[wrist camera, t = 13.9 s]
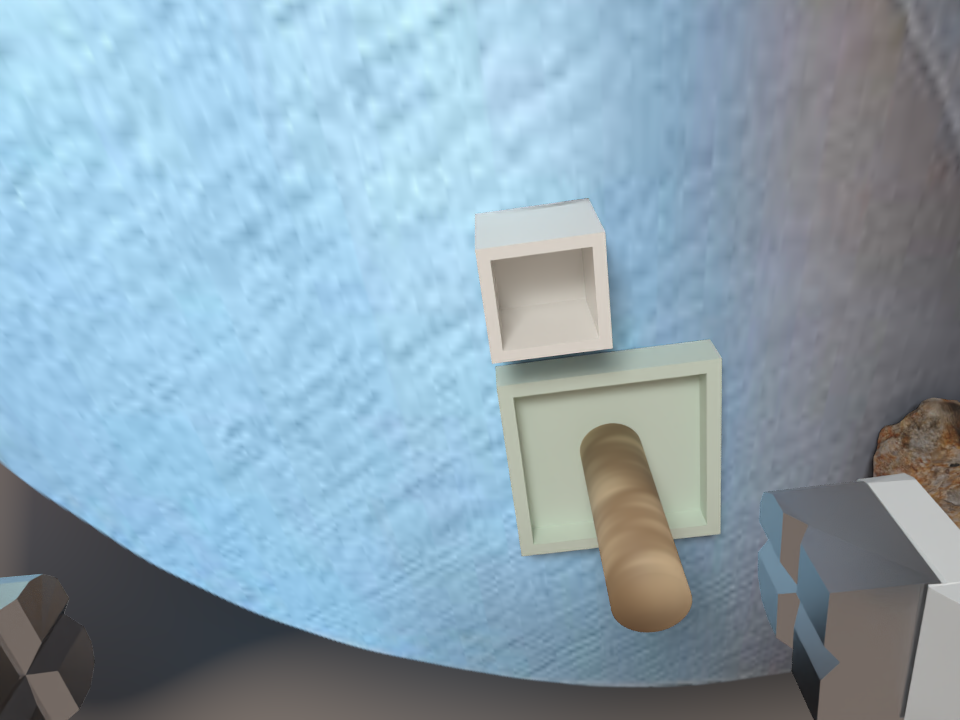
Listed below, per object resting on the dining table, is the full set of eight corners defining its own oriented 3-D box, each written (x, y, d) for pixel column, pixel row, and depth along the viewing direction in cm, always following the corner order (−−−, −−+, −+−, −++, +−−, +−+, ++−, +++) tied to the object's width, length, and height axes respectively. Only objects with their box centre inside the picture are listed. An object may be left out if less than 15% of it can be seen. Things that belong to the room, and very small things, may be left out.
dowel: (640, 419, 43) (691, 569, 33) (642, 470, 45) (692, 628, 35) (577, 427, 44) (608, 578, 33) (582, 477, 45) (613, 635, 35)
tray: (709, 339, 42) (721, 358, 40) (709, 509, 48) (720, 533, 46) (495, 366, 43) (496, 386, 41) (519, 531, 48) (521, 556, 46)
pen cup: (588, 198, 38) (605, 232, 33) (596, 302, 41) (612, 348, 36) (474, 213, 39) (475, 249, 34) (489, 316, 41) (492, 363, 36)
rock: (877, 386, 44) (841, 540, 47) (965, 424, 39) (917, 595, 41) (992, 384, 46) (951, 530, 49) (1089, 419, 41) (1037, 580, 44)
